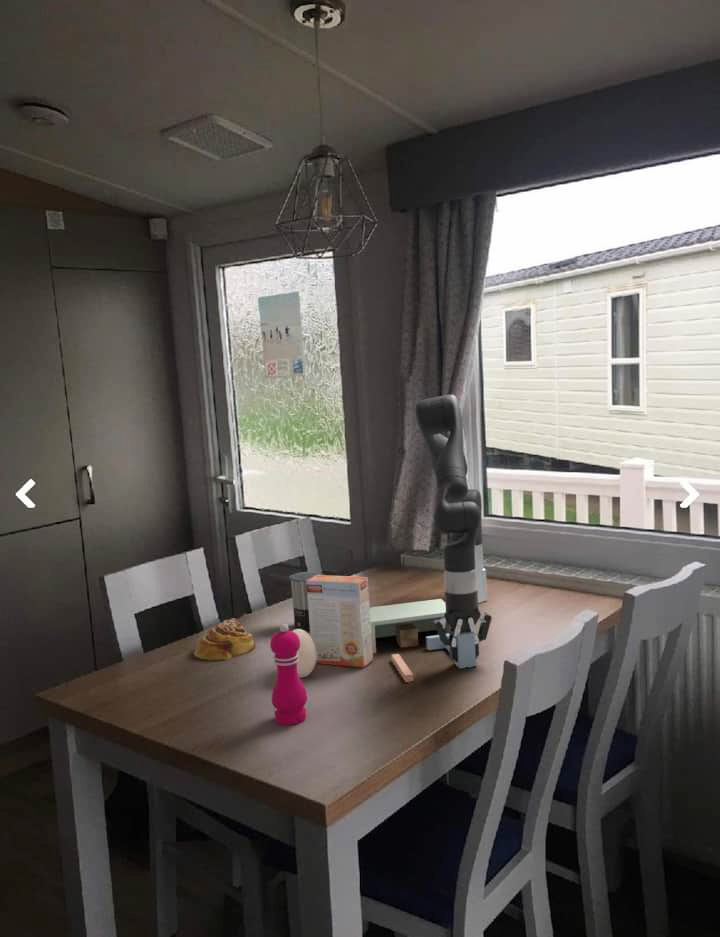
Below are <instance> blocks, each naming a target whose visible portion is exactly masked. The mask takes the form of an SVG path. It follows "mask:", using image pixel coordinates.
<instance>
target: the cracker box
mask: <svg viewBox="0 0 720 937" xmlns="http://www.w3.org/2000/svg"><path fill="white" fill-rule="evenodd" d="M306 583H307V596H308V610H309V624H310V632H309V635H310V636H311V638H312V640H313V642H314V644H315V647H316V653H317V659H316V664H322V665H331V666H341V667H353V668H365V667H367V666H368V665H369V664H370V663H371V662H372V661H373V660H374V653H373V649H372V634H371V620H370V606H371V605H370V594H369V580H368V577H367V576H355V575H354V576H351V575H327V574H323V575H315V576H314V577H312V578H310V579H308V580H307V581H306Z"/></svg>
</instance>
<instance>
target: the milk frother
mask: <svg viewBox="0 0 720 937" xmlns="http://www.w3.org/2000/svg"><path fill="white" fill-rule="evenodd" d="M315 575H324V574H323V573H322V572H319V571H304V572H297V573H294V574H291V575H289V579H290V585H291V586H290V587H291V596H292V597H291V598H292V606H293V607H292V610H293V620H294V622H293V624H294V626H293V630H295V629H302V630H304V631H306V632H307V633H308V632H309V633H310V624H309V610H308V596H307V583H306V581H307V580H308V579H310V578H312V577H314V576H315Z"/></svg>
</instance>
